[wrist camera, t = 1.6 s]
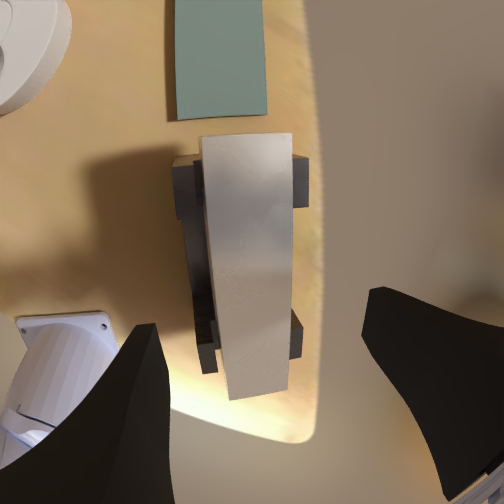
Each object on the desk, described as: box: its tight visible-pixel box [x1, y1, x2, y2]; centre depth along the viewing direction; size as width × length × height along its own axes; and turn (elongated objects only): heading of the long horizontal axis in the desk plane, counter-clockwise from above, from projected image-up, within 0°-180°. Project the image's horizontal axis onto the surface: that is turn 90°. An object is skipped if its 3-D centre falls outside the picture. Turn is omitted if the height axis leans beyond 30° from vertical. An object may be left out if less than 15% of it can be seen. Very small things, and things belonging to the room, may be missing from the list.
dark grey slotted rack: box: [172, 154, 309, 374], centre depth 15 cm, size 10×5×6 cm, turn 3°
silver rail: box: [198, 133, 293, 401], centre depth 13 cm, size 12×3×3 cm, turn 3°
